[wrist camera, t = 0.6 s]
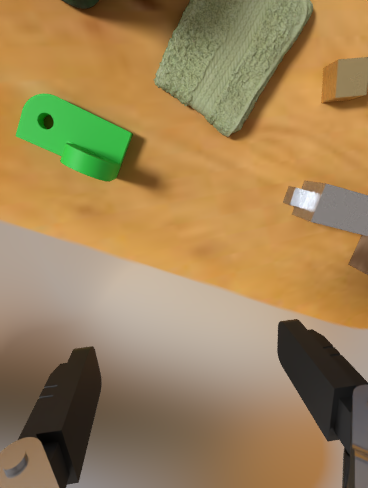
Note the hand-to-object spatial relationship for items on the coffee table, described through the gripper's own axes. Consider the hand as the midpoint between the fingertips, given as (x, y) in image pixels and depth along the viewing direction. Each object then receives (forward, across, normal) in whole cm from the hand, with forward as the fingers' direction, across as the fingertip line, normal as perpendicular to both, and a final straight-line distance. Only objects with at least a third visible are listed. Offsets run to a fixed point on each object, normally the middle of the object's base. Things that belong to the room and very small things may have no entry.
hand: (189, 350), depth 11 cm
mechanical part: (+28, +10, -12) cm, 32 cm away
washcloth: (+28, -10, -20) cm, 36 cm away
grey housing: (+27, -24, +1) cm, 36 cm away
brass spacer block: (+28, -24, -15) cm, 39 cm away
